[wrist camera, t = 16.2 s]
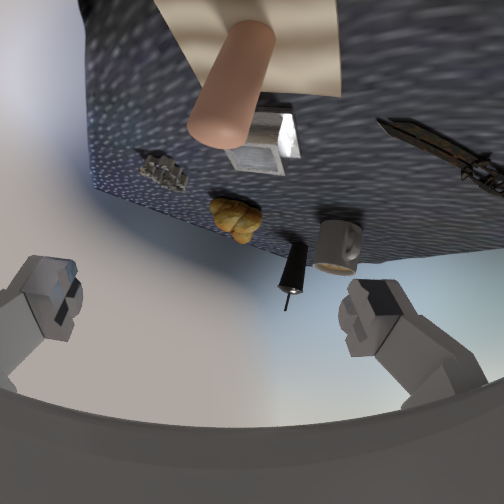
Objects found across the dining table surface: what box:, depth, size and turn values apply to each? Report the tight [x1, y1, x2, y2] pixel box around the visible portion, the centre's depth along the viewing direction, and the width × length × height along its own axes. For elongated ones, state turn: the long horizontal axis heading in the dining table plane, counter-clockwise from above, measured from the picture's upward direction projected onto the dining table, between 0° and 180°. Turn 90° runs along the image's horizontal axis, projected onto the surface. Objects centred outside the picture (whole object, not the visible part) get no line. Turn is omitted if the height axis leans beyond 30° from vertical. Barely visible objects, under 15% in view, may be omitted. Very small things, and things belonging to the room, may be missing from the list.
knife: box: [376, 120, 504, 198], centre depth 31 cm, size 25×6×1 cm, turn 80°
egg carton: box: [138, 155, 189, 194], centre depth 60 cm, size 11×8×4 cm
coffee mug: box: [313, 220, 363, 276], centre depth 66 cm, size 13×10×10 cm
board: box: [154, 0, 342, 97], centre depth 23 cm, size 16×16×1 cm
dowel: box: [187, 20, 276, 149], centre depth 22 cm, size 4×4×12 cm
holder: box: [224, 106, 302, 176], centre depth 39 cm, size 10×10×5 cm
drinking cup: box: [278, 243, 308, 311], centre depth 89 cm, size 8×8×20 cm
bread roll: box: [210, 198, 262, 244], centre depth 70 cm, size 13×10×8 cm
